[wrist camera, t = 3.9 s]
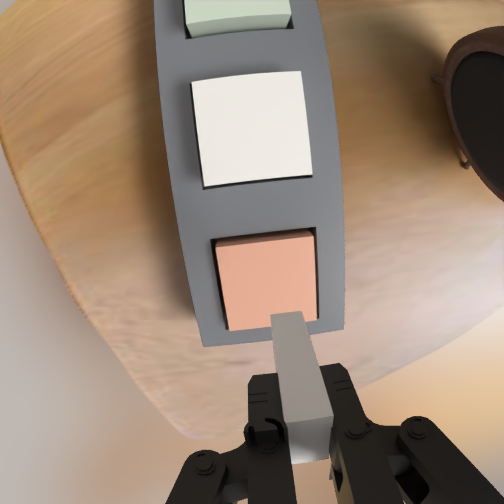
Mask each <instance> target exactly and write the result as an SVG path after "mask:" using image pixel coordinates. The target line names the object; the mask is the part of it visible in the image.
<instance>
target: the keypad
mask: <svg viewBox="0 0 504 504" xmlns="http://www.w3.org/2000/svg"><path fill="white" fill-rule="evenodd" d="M289 4H290V9H291V16H290V19H289V21H288V24H287V27H286V29H278V30H259V31H246V32H236V33H227V34H219V35H212V36H205V37H199V38H192V36H191V34H190V31H189V29H188V27H187V25H186V15H185V2H184V0H154V21H155V40H156V55H157V68H158V80H159V91H160V101H161V110H162V119H163V128H164V136H165V144H166V152H167V159H168V166H169V173H170V180H171V187H172V193H173V200H174V206H175V212H176V218H177V224H178V229H179V235H180V240H181V246H182V251H183V256H184V262H185V267H186V272H187V277H188V282H189V286H190V291H191V296H192V301H193V305H194V310H195V314H196V319H197V323H198V327H199V332H200V336H201V340H202V344H203V347H209V346H221V345H232V344H242V343H252V342H260V341H269V340H273V338H272V328H271V327H263V328H254V329H245V330H236V331H229V325H228V319H227V314H226V308H225V302H224V296H223V290H222V284H221V278H220V272H219V266H218V260H217V254H216V244H217V240H218V238H222V237H230V236H238V235H246V234H255V233H263V232H272V231H281V230H289V229H298V228H307V229H308V230H309V231H310V232H311V234H312V235H313V236H314V254H315V277H316V312H317V320H315V321H308V322H305V323H306V326H307V329H308V332H309V335H312V334H319V333H325V332H331V331H337V330H343V329H344V306H345V238H344V209H343V190H342V174H341V161H340V149H339V138H338V129H337V119H336V111H335V102H334V95H333V87H332V80H331V74H330V67H329V61H328V55H327V49H326V43H325V38H324V32H323V27H322V22H321V17H320V12H319V7H318V3H317V0H289ZM289 71H301V76H302V83H303V91H304V99H305V107H306V115H307V124H308V133H309V142H310V152H311V163H312V175H300V176H289V177H279V178H269V179H260V180H251V181H242V182H234V183H226V184H219V185H211V186H204V179H203V172H202V164H201V157H200V149H199V141H198V133H197V125H196V116H195V108H194V99H193V90H192V82H195V81H201V80H207V79H214V78H221V77H229V76H238V75H247V74H258V73H271V72H289Z"/></svg>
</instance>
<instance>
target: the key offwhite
mask: <svg viewBox="0 0 504 504" xmlns="http://www.w3.org/2000/svg"><path fill="white" fill-rule="evenodd" d="M192 90H193V99H194V108H195V116H196V125H197V133H198V141H199V149H200V157H201V164H202V172H203V179H204V186H211V185H219V184H226V183H234V182H242V181H251V180H260V179H269V178H279V177H289V176H300V175H312V163H311V152H310V142H309V133H308V124H307V115H306V107H305V99H304V91H303V83H302V76H301V71H289V72H271V73H258V74H247V75H238V76H229V77H221V78H214V79H207V80H201V81H195V82H192Z"/></svg>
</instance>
